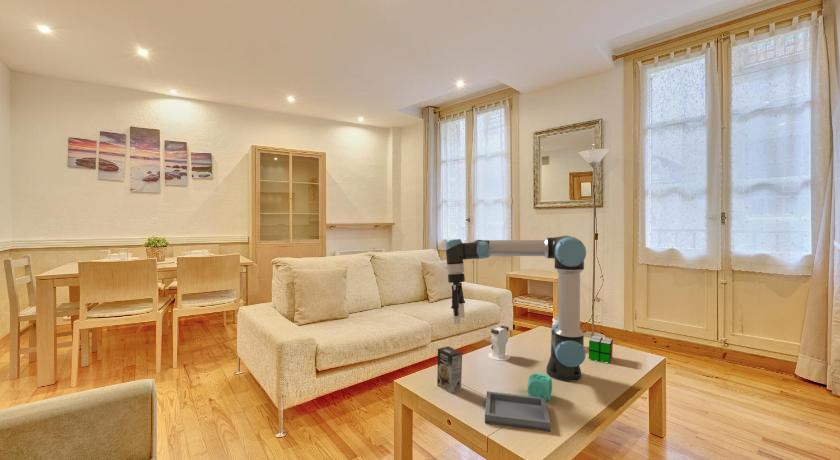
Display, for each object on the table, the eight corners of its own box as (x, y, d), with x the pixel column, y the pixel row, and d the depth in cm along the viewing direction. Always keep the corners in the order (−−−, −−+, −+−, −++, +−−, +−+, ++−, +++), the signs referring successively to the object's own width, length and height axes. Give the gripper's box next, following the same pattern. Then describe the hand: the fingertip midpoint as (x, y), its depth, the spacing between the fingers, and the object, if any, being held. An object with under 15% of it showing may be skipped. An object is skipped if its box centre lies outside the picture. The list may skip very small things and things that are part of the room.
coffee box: (436, 385, 160) (437, 348, 159) (447, 381, 164) (448, 345, 163) (450, 393, 153) (451, 355, 152) (462, 389, 157) (462, 351, 156)
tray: (544, 405, 145) (544, 397, 144) (550, 431, 127) (550, 423, 127) (486, 398, 149) (486, 391, 149) (484, 423, 132) (485, 414, 131)
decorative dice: (532, 390, 157) (532, 371, 157) (551, 395, 153) (552, 376, 153) (527, 398, 150) (527, 378, 150) (547, 403, 146) (548, 383, 146)
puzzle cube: (612, 357, 194) (613, 338, 194) (610, 364, 186) (611, 344, 186) (591, 353, 200) (592, 335, 199) (588, 359, 191) (589, 340, 191)
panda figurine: (496, 350, 202) (497, 323, 202) (515, 356, 195) (515, 327, 194) (483, 356, 194) (484, 327, 193) (502, 362, 186) (503, 333, 185)
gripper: (452, 272, 182) (455, 315, 181) (442, 275, 158) (446, 326, 157) (467, 271, 181) (471, 315, 179) (460, 274, 156) (464, 325, 155)
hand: (459, 320), depth 168 cm, fingers open, 13 cm apart
